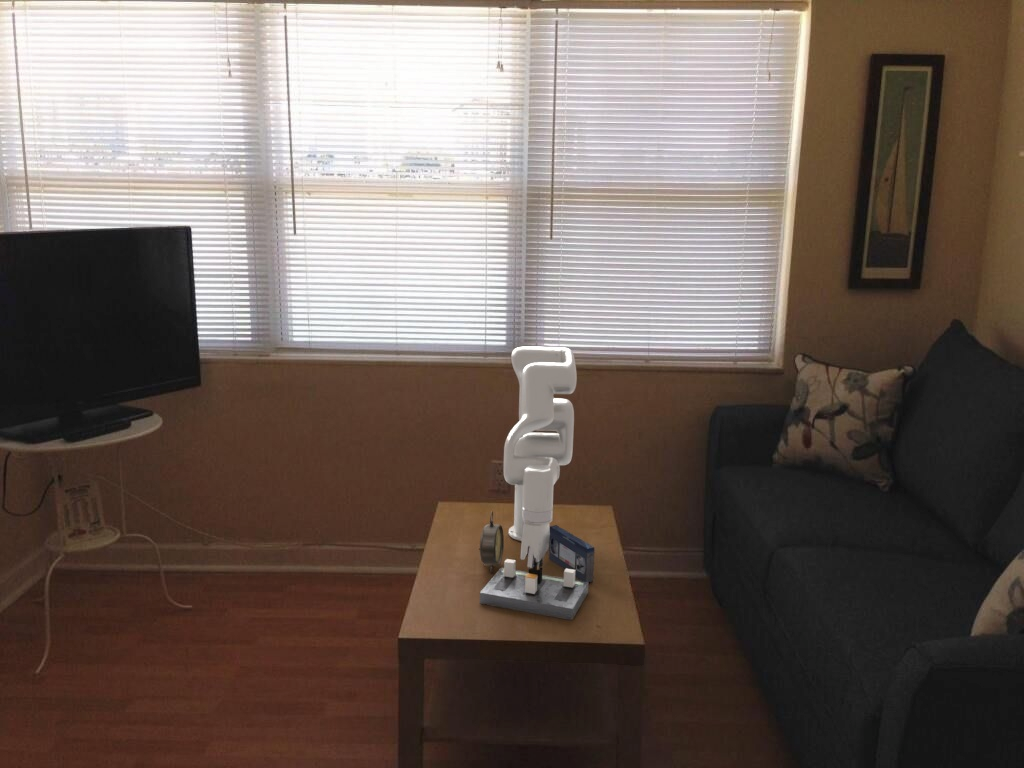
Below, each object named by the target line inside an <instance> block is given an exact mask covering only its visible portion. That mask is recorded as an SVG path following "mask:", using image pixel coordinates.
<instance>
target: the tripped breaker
mask: <svg viewBox="0 0 1024 768" xmlns="http://www.w3.org/2000/svg"><path fill="white" fill-rule="evenodd" d="M536 591H537V575H536V574H530V573H528V574H527V575H526V576H525V592H526V593H532V594H535V593H536Z"/></svg>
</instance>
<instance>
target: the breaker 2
mask: <svg viewBox="0 0 1024 768" xmlns="http://www.w3.org/2000/svg"><path fill="white" fill-rule="evenodd" d="M563 578H564V582H563V586H566V587H572V588H573V587H574V585H575V580H576V577H575V570H573V569H567V568H566V569H564V571H563Z"/></svg>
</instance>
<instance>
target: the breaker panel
mask: <svg viewBox="0 0 1024 768" xmlns="http://www.w3.org/2000/svg"><path fill="white" fill-rule="evenodd" d="M528 573H529V571H523V570H518V569H516V574H515V576H514V577H513V578H512V577H506V576H504V567H499V569H498V571H497V572H495V574H494V575H493V577H492V578H491V579H489V581H488V582H487V584H486V585H485V586H484V587H483V588H482V589H481V590H480V592H479V604H480V605H485V604H487V605H486V606H490V605H493V606H492V607H496V606H497V608H501V607H502V609H507V608H508V609H507V610H512V611H519V612H524V613H525V612H526V613H530V614H536V615H541V616H548V617H553V618H559V619H564V620H570V621H573V619H574V618H575V616H576V614H577V613H578V611H579V609H580V607H581V606H582V604H583V602H584V600H585V599H586V597H587V596H588V594H589V582H585V581H581V580H580V579H579V580H578V579H575V585H574V587H573V588H572V587H566V586H563V582H564V577H560V576H559V577H558V576H554V575H547V574H542V582H541V583H540V584H537V591H536V593H535V594H532V593H526V592H525V576H526V575H527V574H528Z"/></svg>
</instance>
